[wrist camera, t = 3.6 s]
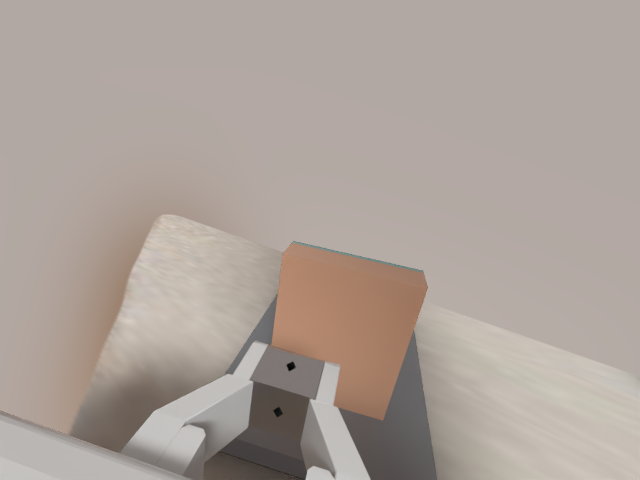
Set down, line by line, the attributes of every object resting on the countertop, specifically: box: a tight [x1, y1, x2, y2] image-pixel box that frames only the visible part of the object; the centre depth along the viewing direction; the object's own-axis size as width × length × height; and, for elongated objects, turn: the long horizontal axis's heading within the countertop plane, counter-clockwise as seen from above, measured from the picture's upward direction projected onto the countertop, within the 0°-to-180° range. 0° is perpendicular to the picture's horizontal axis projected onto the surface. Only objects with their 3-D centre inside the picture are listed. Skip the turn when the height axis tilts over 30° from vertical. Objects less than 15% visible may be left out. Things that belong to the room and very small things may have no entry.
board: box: [220, 294, 437, 480], centre depth 25 cm, size 14×18×2 cm
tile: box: [271, 241, 428, 421], centre depth 19 cm, size 8×2×10 cm, turn 79°
